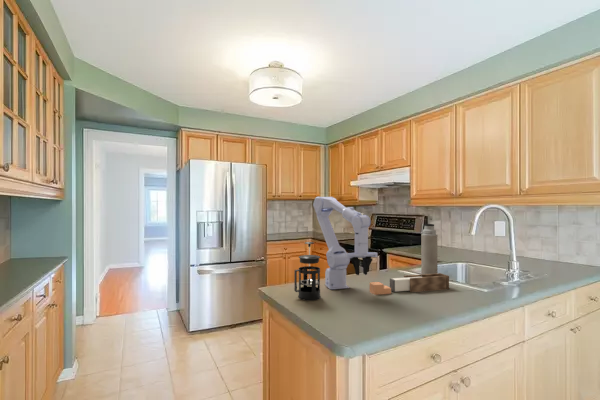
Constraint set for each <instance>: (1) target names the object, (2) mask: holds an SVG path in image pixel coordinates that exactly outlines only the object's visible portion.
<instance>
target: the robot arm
mask: <svg viewBox="0 0 600 400" xmlns="http://www.w3.org/2000/svg"><path fill="white" fill-rule="evenodd" d="M312 207H313V208H314V209H313V210H314V212H315V214H316V219H317V221H318V225H319V227H320V229H321V232H322V235H323V238H324V240H325V242H326V246H327V249H328V250H327V251H326V254H325V255H326V261H327V266H329V267H327V268H325V273H324V274H325V276H324V277H325V278H324V279H325V281H324V283H325V284H324V286H326V288H328V289H329V290H340V289H350V286H349V285H347V268H348V265H349V264H350V261H351V264H352V265H353V268H354V271H355V275H356V276H360V264H361V259H362V268H363V269H362V272H363V275H365V276H366V275H368V272H369V268H370V266H371V263H372V262H373V258H378V252H375V251H374V252H373V251H372V252H370V251H369V228H370V226H371V224H372V220H371V218H370V216H369V215H368V214H362V212H360V211H357V210H355V207H354V206H347V207H346V206H345V205H343V204H342V203H341V202H340V201H338V200H337V198H336V197H334V196H316V197H315V198H314V200H313V204H312ZM333 211H336V212H338V213H340V214H341V215H342V218H344V219H345V220H346V221H347V222H348V223H350V224H351V226H352V227H353V233H354V252H347V251H346V249H345V248H344V247H342V245H340V243H339V240H338V238H337V235H336V234H335V231H334V228H333V225H332V222H331V221H330V218H329V216H330V215H331V214H332V212H333Z"/></svg>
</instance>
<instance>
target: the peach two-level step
mask: <svg viewBox="0 0 600 400" xmlns="http://www.w3.org/2000/svg"><path fill="white" fill-rule="evenodd" d="M369 293H371V294H372V295H373V296H375V295H376V296H377V295H386V294H387V295H388V294H390V295H391V294H392V291H391V288H390V286H388V285H384V283H381V282H379V281H374V282H369Z"/></svg>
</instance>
